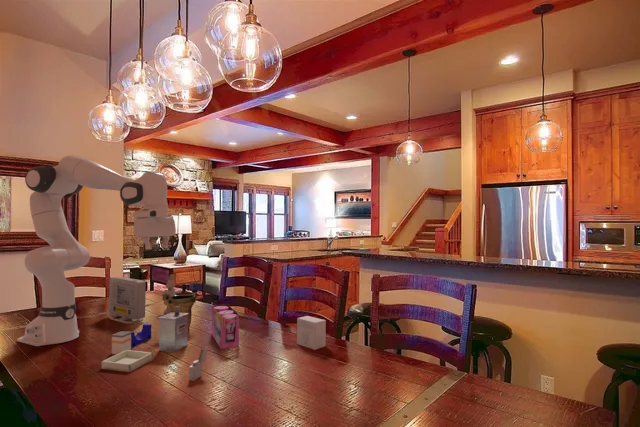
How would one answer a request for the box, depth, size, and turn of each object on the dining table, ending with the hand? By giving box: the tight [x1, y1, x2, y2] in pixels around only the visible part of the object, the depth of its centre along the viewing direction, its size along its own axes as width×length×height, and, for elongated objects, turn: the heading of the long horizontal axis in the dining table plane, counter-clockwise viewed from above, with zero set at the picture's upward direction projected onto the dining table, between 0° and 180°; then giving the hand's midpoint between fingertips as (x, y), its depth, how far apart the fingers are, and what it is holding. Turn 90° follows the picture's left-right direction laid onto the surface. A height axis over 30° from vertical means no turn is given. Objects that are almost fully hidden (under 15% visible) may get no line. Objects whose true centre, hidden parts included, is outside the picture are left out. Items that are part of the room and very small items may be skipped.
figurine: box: [161, 273, 176, 315], centre depth 200 cm, size 9×8×20 cm
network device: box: [108, 276, 146, 324], centre depth 186 cm, size 26×9×20 cm, turn 58°
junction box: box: [157, 306, 189, 353], centre depth 145 cm, size 8×9×16 cm
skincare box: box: [296, 315, 327, 351], centre depth 149 cm, size 10×6×10 cm, turn 47°
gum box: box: [211, 303, 240, 350], centre depth 154 cm, size 22×7×13 cm, turn 26°
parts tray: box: [101, 349, 154, 373], centre depth 129 cm, size 11×11×2 cm
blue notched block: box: [126, 323, 152, 349], centre depth 151 cm, size 12×4×6 cm, turn 169°
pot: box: [161, 291, 198, 331], centre depth 168 cm, size 17×11×18 cm, turn 143°
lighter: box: [188, 348, 208, 382], centre depth 119 cm, size 7×2×8 cm, turn 162°
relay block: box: [111, 330, 132, 355], centre depth 140 cm, size 5×5×7 cm
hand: (156, 248), depth 146 cm, fingers open, 8 cm apart
